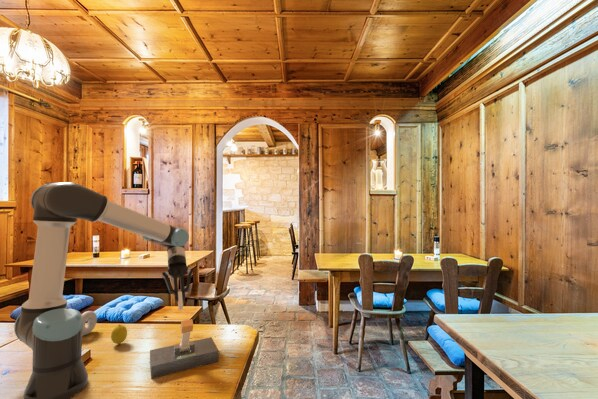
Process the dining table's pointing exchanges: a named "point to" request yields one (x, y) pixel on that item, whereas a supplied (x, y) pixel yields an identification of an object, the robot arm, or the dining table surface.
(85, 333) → the donut
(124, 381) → the dining table surface
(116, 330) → the lemon
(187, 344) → the lever
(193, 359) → the box
